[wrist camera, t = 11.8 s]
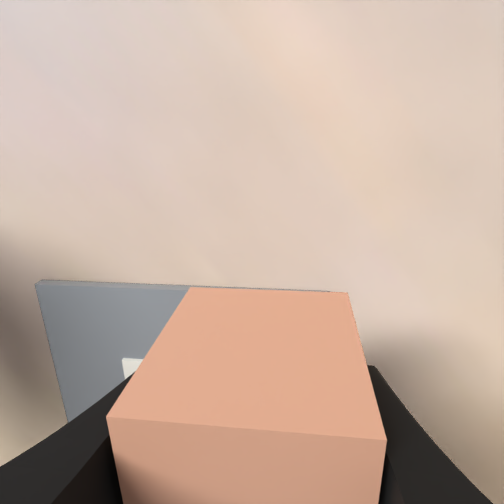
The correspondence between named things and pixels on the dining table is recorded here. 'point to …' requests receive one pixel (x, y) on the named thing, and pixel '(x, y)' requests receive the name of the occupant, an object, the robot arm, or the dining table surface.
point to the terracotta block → (251, 405)
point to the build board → (103, 332)
